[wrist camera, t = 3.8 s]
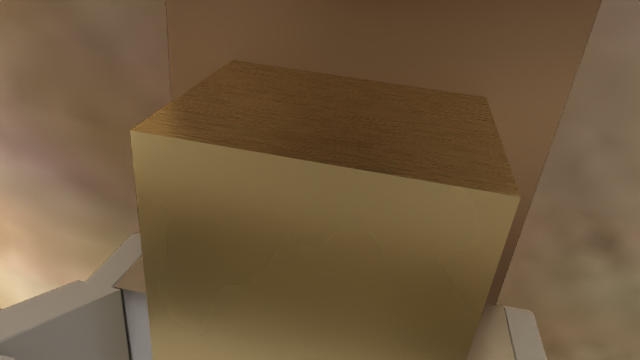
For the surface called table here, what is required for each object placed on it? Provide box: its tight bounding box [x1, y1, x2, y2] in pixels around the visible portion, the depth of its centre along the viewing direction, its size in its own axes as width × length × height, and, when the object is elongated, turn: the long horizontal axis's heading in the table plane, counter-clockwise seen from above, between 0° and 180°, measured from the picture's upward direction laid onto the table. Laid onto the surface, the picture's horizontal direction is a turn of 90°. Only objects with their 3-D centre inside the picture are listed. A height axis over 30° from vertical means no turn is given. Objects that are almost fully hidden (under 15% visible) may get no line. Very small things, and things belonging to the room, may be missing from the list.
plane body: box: [166, 0, 602, 305], centre depth 10 cm, size 18×7×10 cm, turn 174°
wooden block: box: [130, 60, 521, 360], centre depth 9 cm, size 8×4×4 cm, turn 174°
